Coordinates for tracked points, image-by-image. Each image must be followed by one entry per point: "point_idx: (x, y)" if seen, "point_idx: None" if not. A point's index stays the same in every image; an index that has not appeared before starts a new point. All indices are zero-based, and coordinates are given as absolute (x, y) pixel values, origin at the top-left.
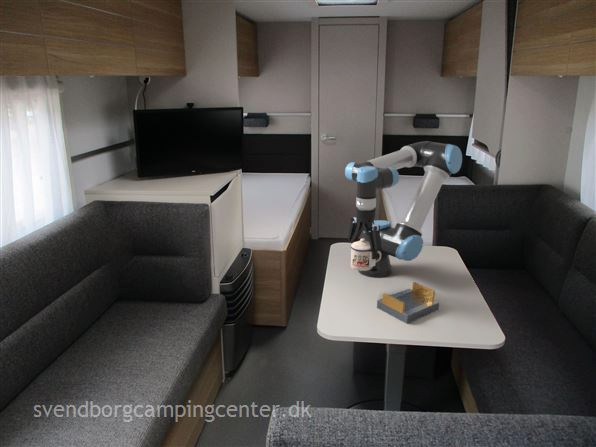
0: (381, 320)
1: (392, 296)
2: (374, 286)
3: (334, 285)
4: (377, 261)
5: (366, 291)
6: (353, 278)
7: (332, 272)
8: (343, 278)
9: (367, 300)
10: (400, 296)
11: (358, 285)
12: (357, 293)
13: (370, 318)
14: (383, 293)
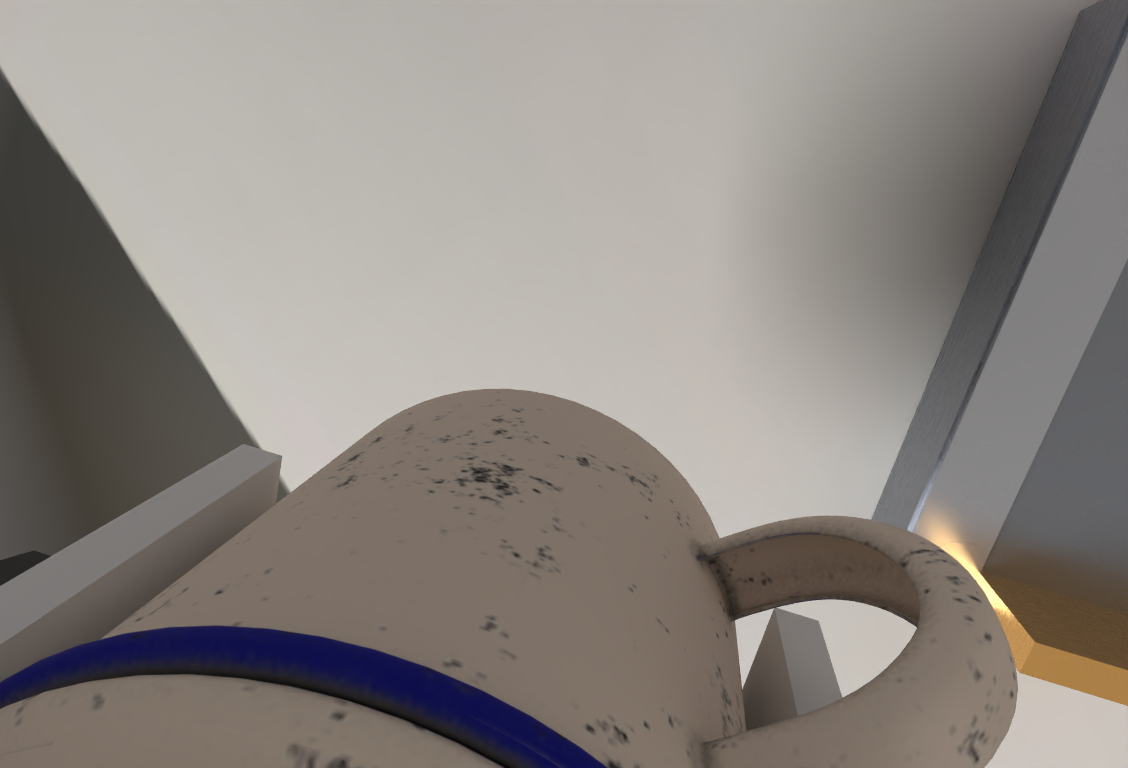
0: (1017, 723)
1: (1017, 386)
2: (585, 69)
3: (249, 349)
4: (845, 583)
5: (582, 259)
6: (274, 42)
7: (15, 68)
8: (199, 127)
9: (702, 444)
10: (1107, 302)
11: (428, 178)
12: (533, 365)
13: None
14: (1025, 665)
